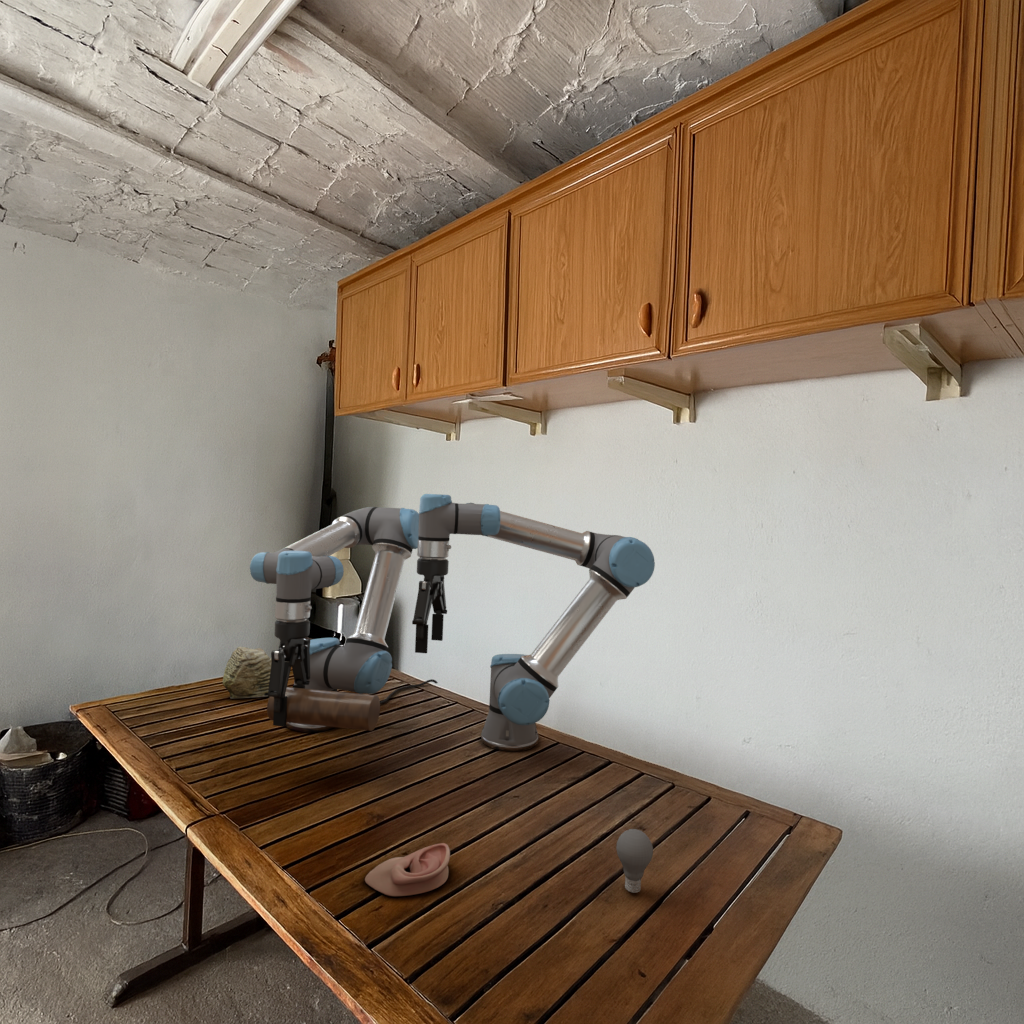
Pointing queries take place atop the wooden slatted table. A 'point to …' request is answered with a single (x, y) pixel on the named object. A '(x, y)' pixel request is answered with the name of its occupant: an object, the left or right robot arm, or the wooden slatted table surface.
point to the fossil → (247, 673)
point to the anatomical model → (412, 872)
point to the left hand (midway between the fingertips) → (288, 719)
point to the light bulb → (634, 857)
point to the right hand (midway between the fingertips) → (429, 646)
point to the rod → (330, 708)
